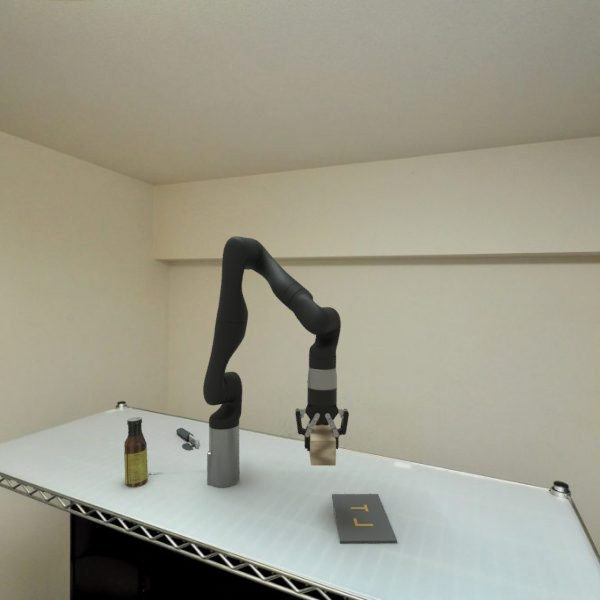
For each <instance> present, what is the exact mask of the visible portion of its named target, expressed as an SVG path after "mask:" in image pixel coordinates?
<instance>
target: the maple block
mask: <svg viewBox="0 0 600 600" xmlns="http://www.w3.org/2000/svg"><path fill="white" fill-rule="evenodd" d="M308 452H309V461H310V462H309V463H310V466H325V467H327V466H329V467H330V466H332V467H333V466H335V467H336V466H337V461H336V460H337V449H336V439H335V435H334V433H333V431H332V430H331V427H330V425H328V426H325V425H319V426H316V425H315V426H314V428H313V430H312V432H311V433H310V451H308Z"/></svg>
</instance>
